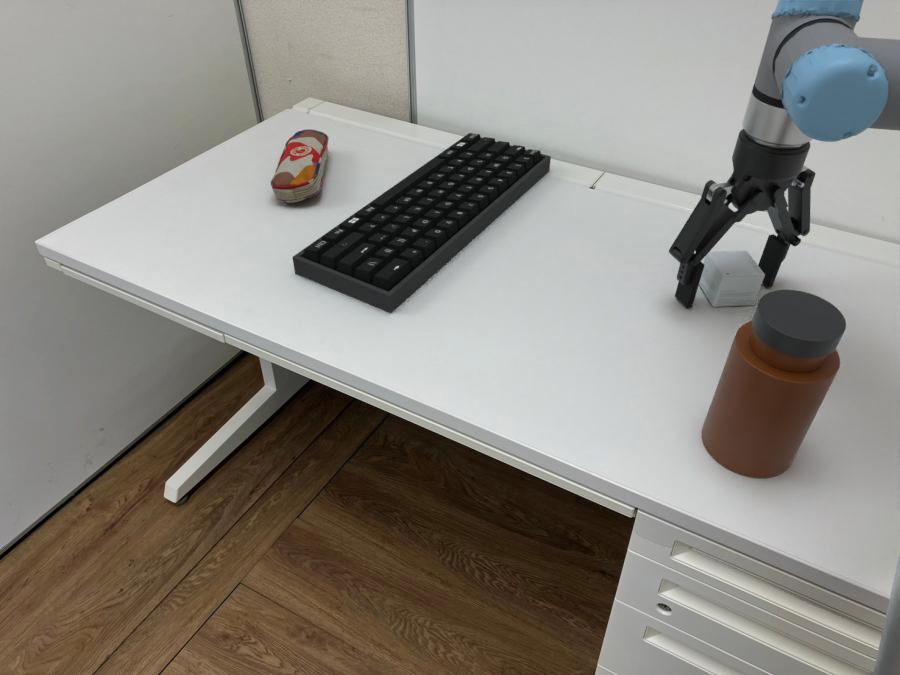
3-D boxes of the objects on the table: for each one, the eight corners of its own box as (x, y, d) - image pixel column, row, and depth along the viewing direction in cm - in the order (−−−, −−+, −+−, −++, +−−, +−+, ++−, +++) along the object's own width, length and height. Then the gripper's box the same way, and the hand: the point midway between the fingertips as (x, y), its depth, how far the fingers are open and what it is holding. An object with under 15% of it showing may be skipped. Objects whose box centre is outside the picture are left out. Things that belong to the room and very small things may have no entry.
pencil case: (247, 202, 108) (241, 173, 105) (296, 147, 123) (292, 120, 120) (314, 211, 107) (310, 181, 103) (356, 154, 121) (354, 127, 118)
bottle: (812, 463, 70) (881, 334, 59) (738, 489, 68) (796, 358, 57) (753, 402, 76) (806, 275, 65) (683, 423, 74) (725, 295, 63)
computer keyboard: (467, 148, 123) (468, 127, 121) (549, 171, 117) (551, 149, 114) (295, 273, 94) (291, 249, 92) (390, 313, 88) (389, 288, 85)
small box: (755, 305, 90) (766, 274, 86) (711, 308, 89) (721, 276, 86) (737, 279, 94) (747, 248, 91) (695, 281, 93) (704, 250, 90)
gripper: (836, 106, 83) (779, 258, 97) (663, 136, 77) (628, 294, 91) (886, 132, 78) (818, 288, 92) (704, 167, 71) (661, 329, 85)
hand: (723, 291), depth 91 cm, fingers open, 12 cm apart
